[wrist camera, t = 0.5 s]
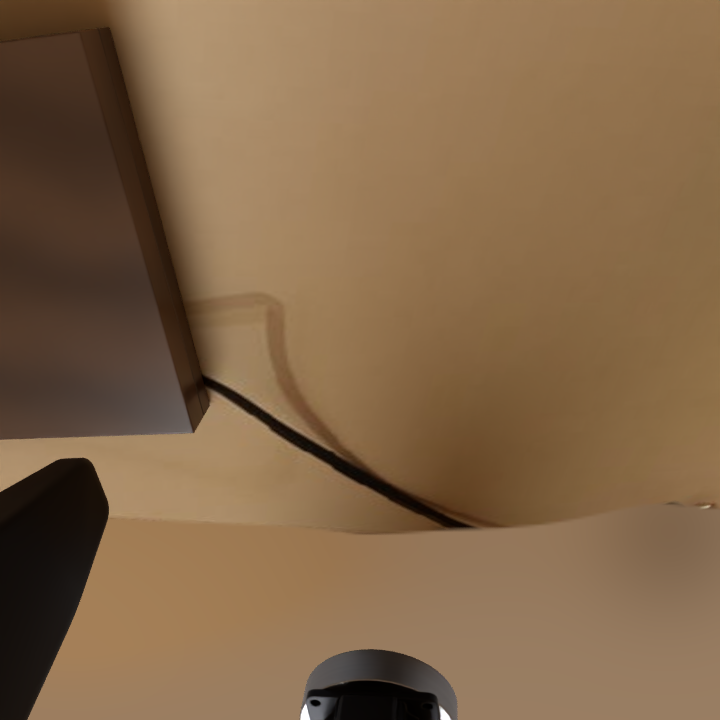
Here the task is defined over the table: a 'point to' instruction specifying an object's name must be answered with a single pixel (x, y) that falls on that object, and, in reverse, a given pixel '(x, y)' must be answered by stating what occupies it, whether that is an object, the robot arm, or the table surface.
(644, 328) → the table surface
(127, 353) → the dark wooden base block
